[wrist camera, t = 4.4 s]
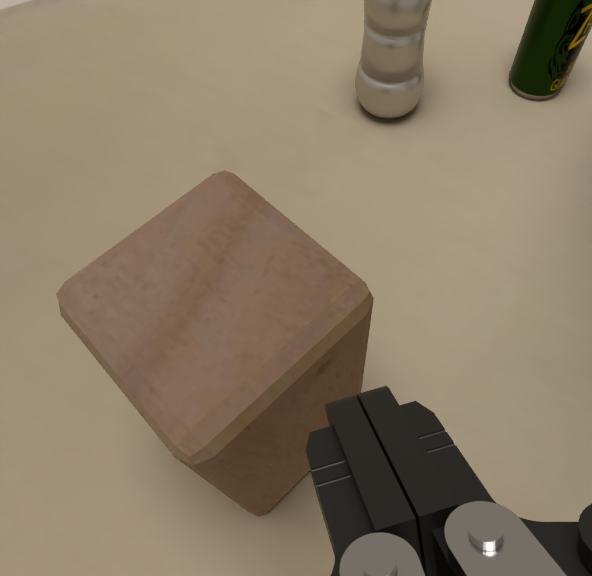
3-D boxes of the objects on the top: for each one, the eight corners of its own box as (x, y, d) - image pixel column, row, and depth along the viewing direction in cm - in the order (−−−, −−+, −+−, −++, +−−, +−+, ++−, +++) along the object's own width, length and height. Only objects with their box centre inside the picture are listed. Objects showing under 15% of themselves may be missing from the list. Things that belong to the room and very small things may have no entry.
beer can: (498, 91, 53) (538, -29, 42) (519, 59, 55) (562, -63, 44) (551, 109, 51) (606, -11, 41) (570, 76, 53) (627, -47, 43)
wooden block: (362, 419, 38) (385, 286, 20) (259, 524, 35) (184, 472, 18) (270, 330, 42) (223, 154, 24) (171, 417, 39) (37, 289, 21)
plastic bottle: (383, 137, 51) (408, -92, 33) (341, 99, 54) (343, -130, 36) (433, 108, 52) (482, -127, 35) (389, 72, 55) (414, -161, 38)
